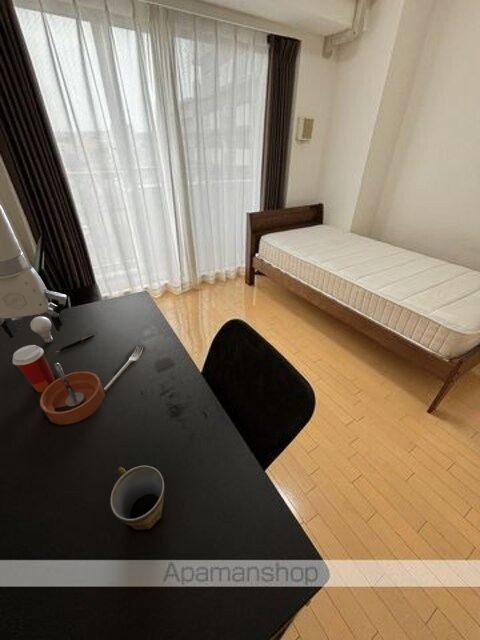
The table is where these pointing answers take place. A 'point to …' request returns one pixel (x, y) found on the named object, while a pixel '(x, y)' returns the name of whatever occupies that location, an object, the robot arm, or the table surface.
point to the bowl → (58, 394)
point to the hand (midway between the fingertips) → (37, 331)
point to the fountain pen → (76, 343)
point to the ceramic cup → (137, 495)
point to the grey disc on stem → (70, 391)
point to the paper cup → (34, 366)
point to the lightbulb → (42, 327)
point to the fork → (125, 366)
